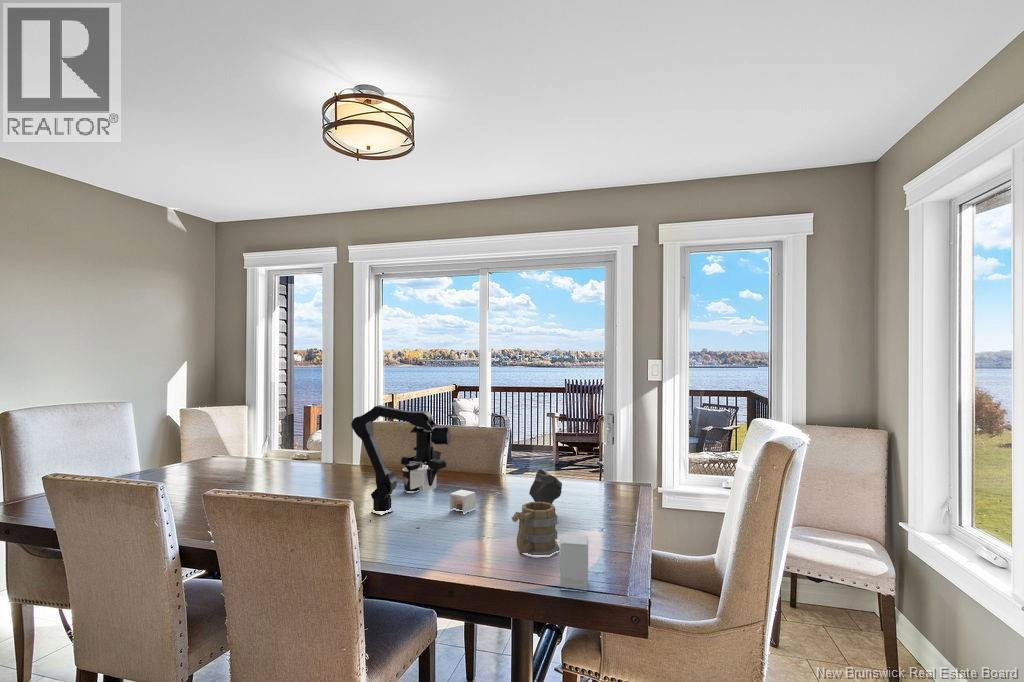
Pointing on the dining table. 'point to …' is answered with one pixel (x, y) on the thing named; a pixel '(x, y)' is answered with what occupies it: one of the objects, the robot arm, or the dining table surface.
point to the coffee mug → (407, 480)
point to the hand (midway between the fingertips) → (423, 484)
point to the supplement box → (574, 561)
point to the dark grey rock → (545, 487)
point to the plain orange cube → (459, 504)
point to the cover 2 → (467, 499)
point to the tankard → (537, 529)
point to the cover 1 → (421, 479)
